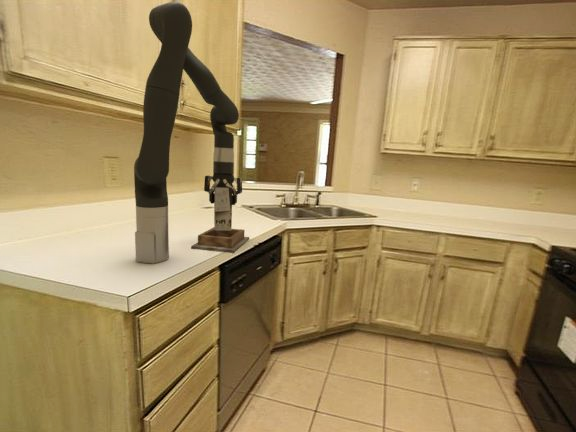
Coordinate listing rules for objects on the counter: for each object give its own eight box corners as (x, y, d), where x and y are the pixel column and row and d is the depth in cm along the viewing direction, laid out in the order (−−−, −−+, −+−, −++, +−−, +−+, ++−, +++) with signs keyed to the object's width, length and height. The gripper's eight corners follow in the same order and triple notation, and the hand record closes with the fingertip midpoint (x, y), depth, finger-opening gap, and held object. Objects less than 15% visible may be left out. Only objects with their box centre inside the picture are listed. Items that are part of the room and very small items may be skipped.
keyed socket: (249, 239, 128) (249, 228, 127) (233, 253, 109) (234, 240, 108) (212, 235, 130) (212, 225, 130) (191, 248, 111) (191, 236, 110)
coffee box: (232, 230, 115) (232, 187, 112) (214, 230, 113) (214, 187, 110) (230, 225, 123) (231, 185, 121) (214, 225, 122) (214, 185, 119)
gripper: (245, 161, 117) (243, 204, 119) (209, 159, 119) (209, 201, 121) (239, 161, 109) (237, 206, 112) (201, 159, 111) (201, 203, 114)
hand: (222, 204), depth 117 cm, fingers closed on coffee box, 8 cm apart
